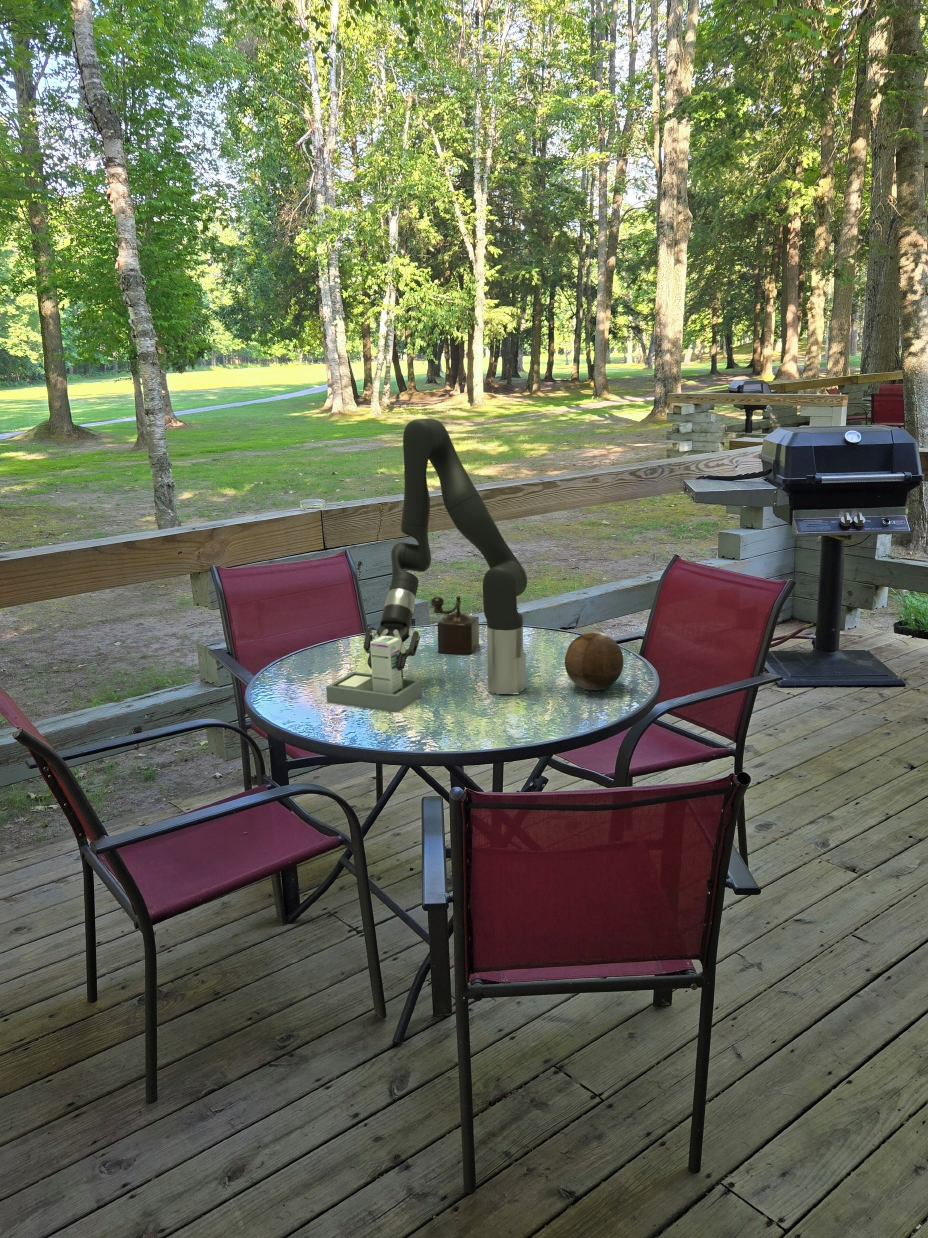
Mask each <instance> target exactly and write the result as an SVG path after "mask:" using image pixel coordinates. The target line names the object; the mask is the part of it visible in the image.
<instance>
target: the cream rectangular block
mask: <svg viewBox="0 0 928 1238" xmlns="http://www.w3.org/2000/svg"><path fill="white" fill-rule="evenodd" d="M338 686H339V687H343V688H351V689H358V690H365V691H372V677H364V676H356V675H355V676H353V677H351V678H349V679H348V680H346V681H344V682H342V683H340V684H339V685H338Z"/></svg>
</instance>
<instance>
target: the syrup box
mask: <svg viewBox="0 0 928 1238" xmlns="http://www.w3.org/2000/svg"><path fill="white" fill-rule="evenodd" d="M377 638H378V637H377ZM377 638H375V639H373V640H372V641H371V642H370V648H371V665H372V669H371V674H372V683H373V692H380V693H387V694H394V695H395V694H397V693H398V692H400V691H402V690H403V689H404V684H403V678H404V669H402V671H398V669H397V663H398V659H399V654H401V651H400V647H401V638H398V637H393V636H381V637H380V638H378V639H377Z"/></svg>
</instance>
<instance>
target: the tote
mask: <svg viewBox="0 0 928 1238" xmlns="http://www.w3.org/2000/svg"><path fill="white" fill-rule="evenodd" d="M355 675H356V676H364V677H372V673H367V672H359V671H352V672H350V673H349V674H346V675H345V676H343V677H341V678H339V679H337V680H336V681H334V682H332V683H330V684H328V685H326V686H325V689H326V692H325V693H326V702H327V703H330V704H332V703H333V704H339V705H343V706H344V705H345V706H352V707H358V708H359V707H360V708H366V709H372V710H380V711H386V712H391V713H392V712H393V713H399V712H400V711H402V710H403V709H404V708H406V707H408V706H409V705H410V704H412V703H413V702H415V701H416V700H418V699H419V698H421V697H422V696H423V689H422V683H423V682H422V680H421V679H420V680H419V679H413V678H407V677H405V678H404V677H403V684H404V689H403V690H402V691H400V692H398V693H397V694H395V695H394V694H387V693H380V692H373V683H372V691H365V690H358V689H351V688H343V687H339V686H338V685H339V684H340V683H342V682H344V681H346V680H348V679H349V678H351V677H353V676H355Z"/></svg>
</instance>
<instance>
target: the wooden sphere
mask: <svg viewBox="0 0 928 1238" xmlns="http://www.w3.org/2000/svg"><path fill="white" fill-rule="evenodd" d="M564 667H565V672H566V674H567V676H568V677H569V679H570V680H571V681H572V683H573V684H575V686H578V687H579V688H581V689H583V690H586V689H587V690H586V691H591V690H597V691H601V690H606V689H608V688H609V687H612V685H614V684H615V683H616V682H617V680H618V679H619V678H620V676H621V674H622V672H623V670H624V669H623V668H624V655H623V651H622V649H621V647H620V645H619V644H618V643H617V642H616V640H615V639H613V638H612V637H611V636H609V635H607V634H605V633H602V632H597V631H596V632H594V631H593V632H587V633H586V632H585V633H583V634H581V635H579V636H578V637H576V638H575V639H574V640H572V641H571V642H570V644H569V646H568V647H567V649H566V651H565V655H564Z"/></svg>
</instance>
